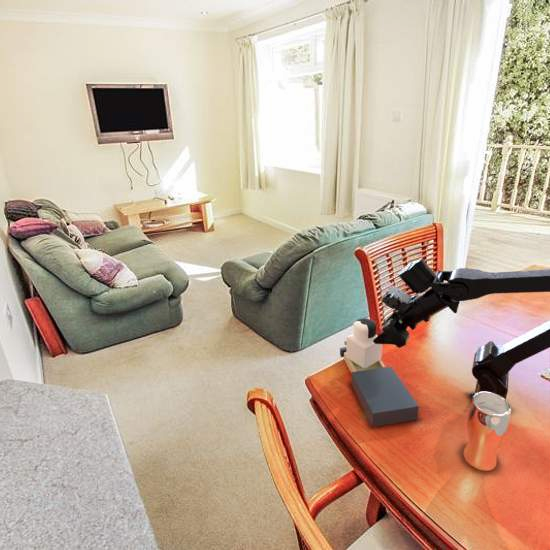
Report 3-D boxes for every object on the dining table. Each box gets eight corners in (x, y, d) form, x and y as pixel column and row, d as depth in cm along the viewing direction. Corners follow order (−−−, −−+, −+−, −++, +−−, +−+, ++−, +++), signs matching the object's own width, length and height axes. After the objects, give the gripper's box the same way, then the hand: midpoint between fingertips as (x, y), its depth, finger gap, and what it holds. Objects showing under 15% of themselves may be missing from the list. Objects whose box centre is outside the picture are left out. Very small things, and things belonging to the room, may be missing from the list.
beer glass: (453, 451, 80) (463, 397, 74) (478, 440, 82) (490, 386, 76) (480, 478, 74) (493, 421, 68) (506, 465, 76) (521, 409, 70)
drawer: (336, 347, 116) (336, 340, 115) (367, 343, 117) (367, 336, 116) (355, 386, 100) (355, 378, 99) (391, 381, 101) (392, 373, 100)
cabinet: (351, 384, 102) (351, 372, 100) (390, 378, 103) (391, 366, 101) (372, 427, 88) (372, 413, 86) (417, 419, 89) (418, 406, 87)
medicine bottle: (363, 348, 111) (364, 312, 106) (382, 359, 105) (384, 322, 100) (345, 357, 107) (346, 321, 102) (364, 369, 102) (366, 332, 97)
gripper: (412, 266, 99) (370, 296, 109) (393, 296, 84) (346, 327, 94) (441, 298, 98) (395, 325, 108) (427, 334, 84) (376, 361, 93)
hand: (379, 333), depth 101 cm, fingers open, 9 cm apart
